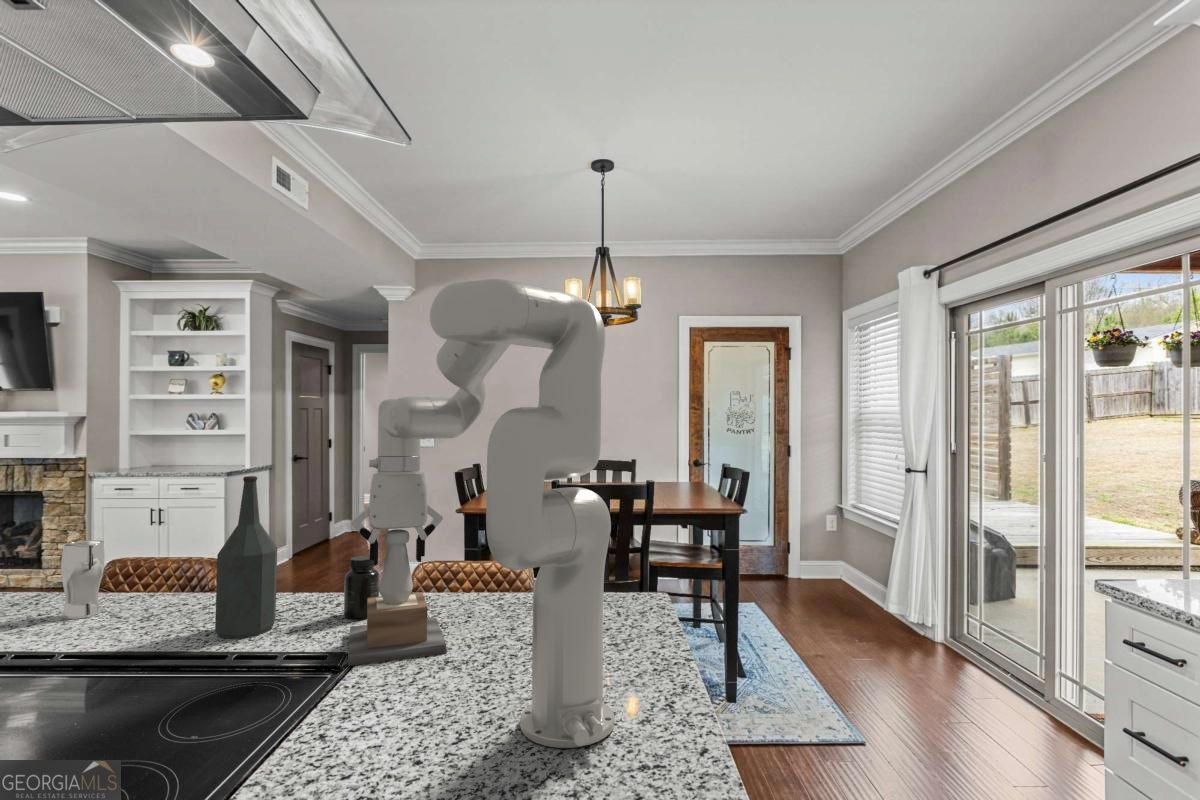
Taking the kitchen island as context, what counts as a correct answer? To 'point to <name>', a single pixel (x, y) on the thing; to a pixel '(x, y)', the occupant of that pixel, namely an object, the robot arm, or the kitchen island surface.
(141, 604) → the kitchen island surface
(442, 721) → the kitchen island surface
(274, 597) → the bottle
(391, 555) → the salt shaker
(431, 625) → the plinth
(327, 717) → the kitchen island surface
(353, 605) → the supplement bottle
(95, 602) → the beer glass
